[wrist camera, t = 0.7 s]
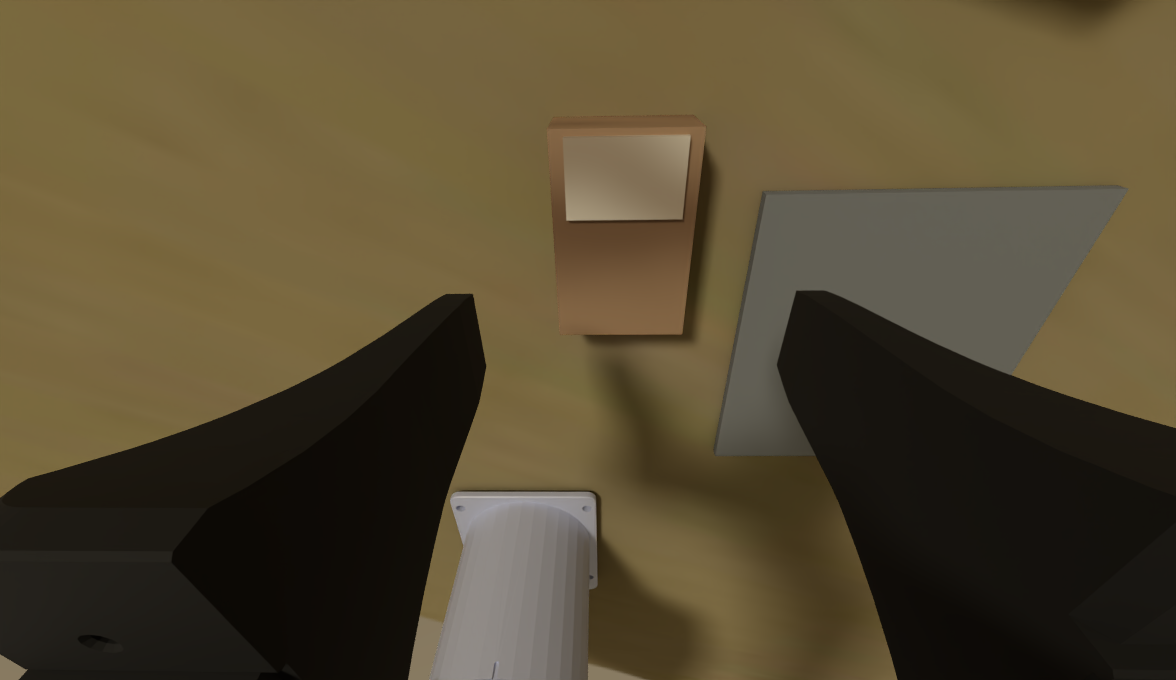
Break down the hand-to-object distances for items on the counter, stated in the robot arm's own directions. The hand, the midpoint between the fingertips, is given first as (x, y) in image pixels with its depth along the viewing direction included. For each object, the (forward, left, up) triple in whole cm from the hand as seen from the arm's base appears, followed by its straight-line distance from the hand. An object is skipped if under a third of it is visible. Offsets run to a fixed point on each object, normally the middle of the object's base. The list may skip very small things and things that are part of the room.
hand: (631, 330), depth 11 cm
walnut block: (0, 0, -8) cm, 8 cm away
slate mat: (-6, -11, -7) cm, 14 cm away
